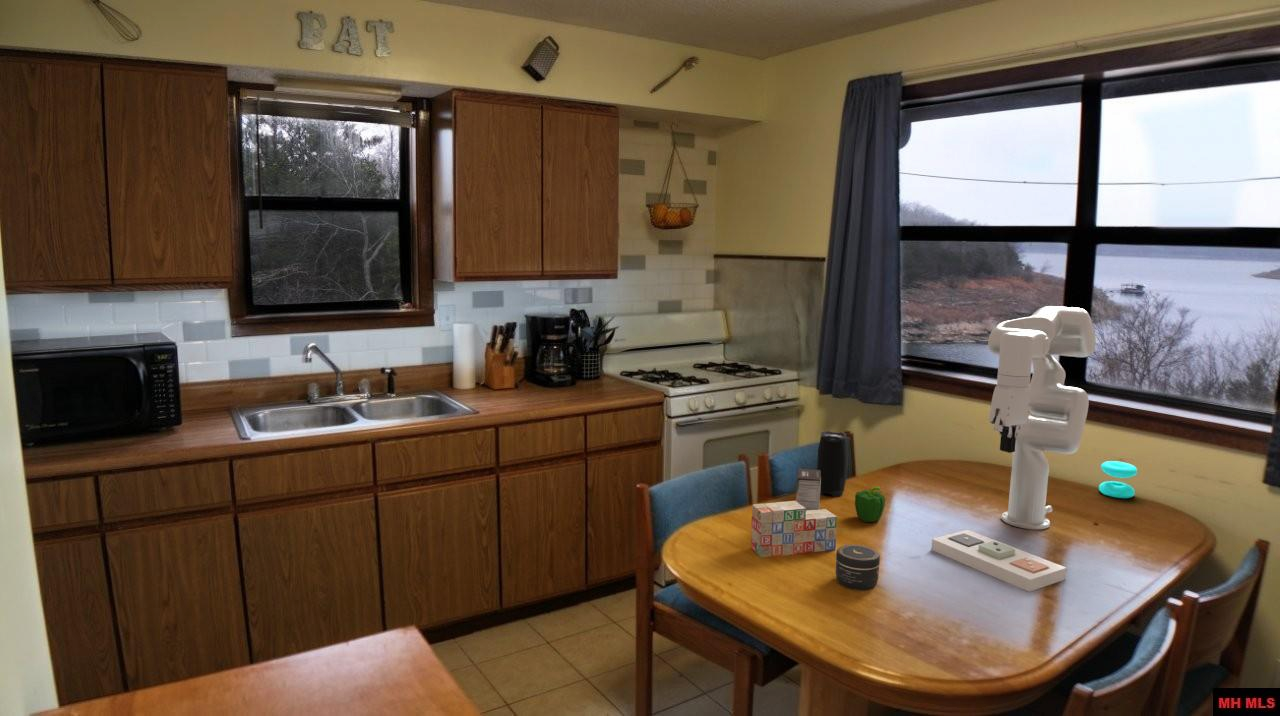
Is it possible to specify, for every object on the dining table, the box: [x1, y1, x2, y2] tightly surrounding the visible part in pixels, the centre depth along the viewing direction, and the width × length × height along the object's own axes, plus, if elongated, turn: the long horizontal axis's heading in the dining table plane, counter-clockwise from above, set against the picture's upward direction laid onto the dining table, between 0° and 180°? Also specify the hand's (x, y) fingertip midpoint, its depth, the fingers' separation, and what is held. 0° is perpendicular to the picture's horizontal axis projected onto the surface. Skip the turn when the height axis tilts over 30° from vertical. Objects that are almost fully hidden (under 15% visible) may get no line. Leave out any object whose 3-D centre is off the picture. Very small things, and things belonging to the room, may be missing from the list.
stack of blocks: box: [750, 500, 838, 558], centre depth 206 cm, size 21×6×12 cm, turn 104°
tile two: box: [978, 540, 1015, 560], centre depth 199 cm, size 6×6×3 cm
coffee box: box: [795, 468, 821, 511], centre depth 221 cm, size 9×6×16 cm
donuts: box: [1098, 460, 1138, 499], centre depth 255 cm, size 10×10×10 cm
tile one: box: [949, 533, 984, 547], centre depth 207 cm, size 6×6×3 cm
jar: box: [835, 544, 881, 591], centre depth 187 cm, size 10×10×8 cm
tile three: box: [1010, 558, 1049, 574], centre depth 192 cm, size 6×6×3 cm
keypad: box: [930, 529, 1067, 592], centre depth 199 cm, size 14×28×3 cm, turn 30°
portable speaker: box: [816, 430, 849, 498], centre depth 251 cm, size 9×9×20 cm
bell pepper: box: [854, 485, 886, 523], centre depth 229 cm, size 8×8×10 cm
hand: (1007, 451), depth 204 cm, fingers closed
